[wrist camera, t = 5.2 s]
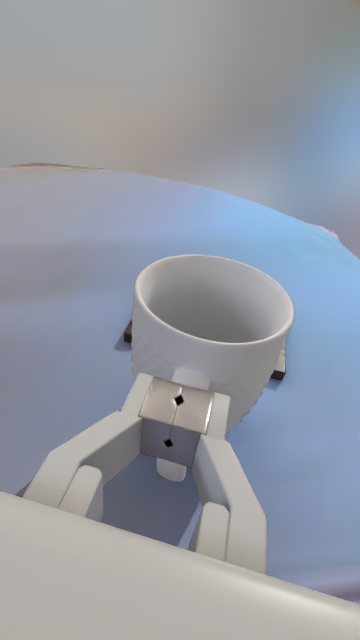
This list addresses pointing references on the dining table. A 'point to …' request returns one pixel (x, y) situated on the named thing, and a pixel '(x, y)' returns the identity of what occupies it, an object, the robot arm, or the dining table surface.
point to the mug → (209, 330)
